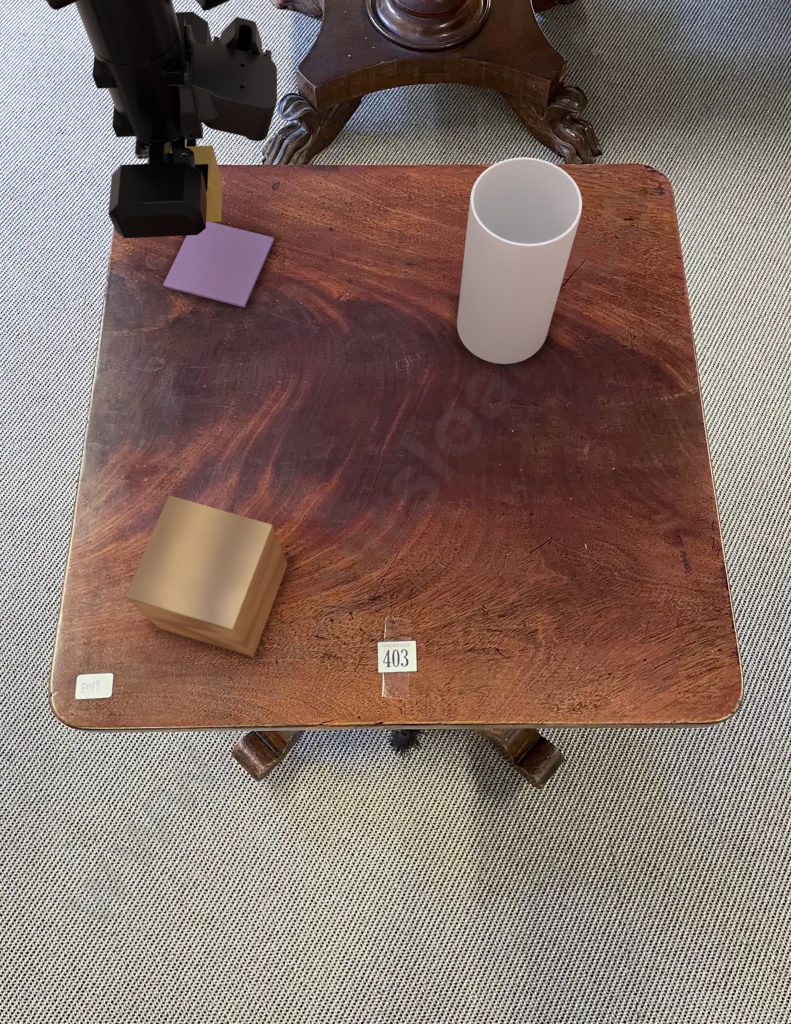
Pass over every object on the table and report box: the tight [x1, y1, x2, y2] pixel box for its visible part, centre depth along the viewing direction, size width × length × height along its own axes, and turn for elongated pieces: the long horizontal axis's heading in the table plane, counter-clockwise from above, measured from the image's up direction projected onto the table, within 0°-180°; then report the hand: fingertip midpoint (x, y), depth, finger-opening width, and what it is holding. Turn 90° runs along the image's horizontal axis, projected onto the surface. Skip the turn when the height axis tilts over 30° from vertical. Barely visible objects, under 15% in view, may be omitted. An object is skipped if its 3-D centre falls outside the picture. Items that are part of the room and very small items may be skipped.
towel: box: [162, 222, 275, 308], centre depth 80 cm, size 8×8×1 cm
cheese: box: [146, 145, 223, 223], centre depth 68 cm, size 5×4×4 cm
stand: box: [124, 494, 288, 658], centre depth 64 cm, size 8×8×9 cm
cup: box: [456, 156, 583, 365], centre depth 70 cm, size 8×8×16 cm
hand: (190, 203), depth 69 cm, fingers closed on cheese, 4 cm apart
